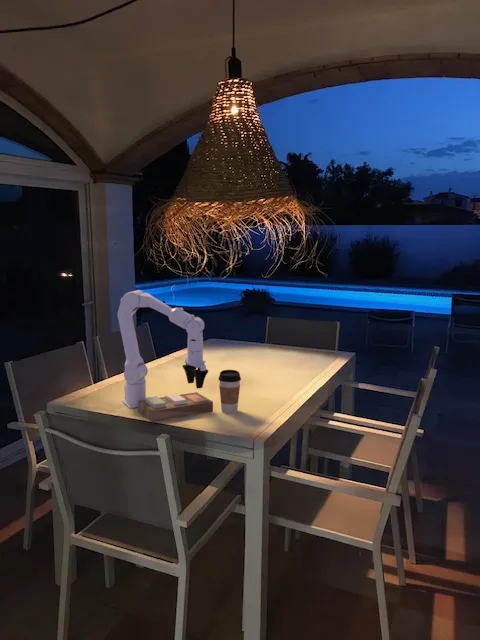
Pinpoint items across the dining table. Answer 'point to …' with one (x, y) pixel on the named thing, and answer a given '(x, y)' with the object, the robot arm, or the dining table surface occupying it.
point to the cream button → (175, 399)
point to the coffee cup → (229, 390)
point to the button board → (175, 408)
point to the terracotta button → (195, 398)
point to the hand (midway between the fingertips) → (195, 385)
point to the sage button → (155, 402)
